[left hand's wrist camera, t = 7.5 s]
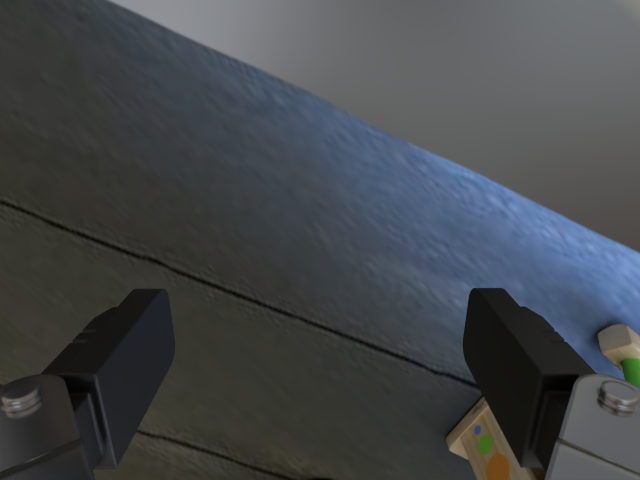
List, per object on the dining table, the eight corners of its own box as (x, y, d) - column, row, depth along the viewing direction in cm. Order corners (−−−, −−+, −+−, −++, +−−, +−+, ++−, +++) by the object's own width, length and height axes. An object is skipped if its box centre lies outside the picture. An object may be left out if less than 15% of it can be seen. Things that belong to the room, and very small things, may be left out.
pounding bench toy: (575, 292, 44) (736, 423, 27) (674, 352, 46) (877, 506, 29) (442, 440, 50) (503, 618, 34) (534, 485, 53) (633, 671, 36)
